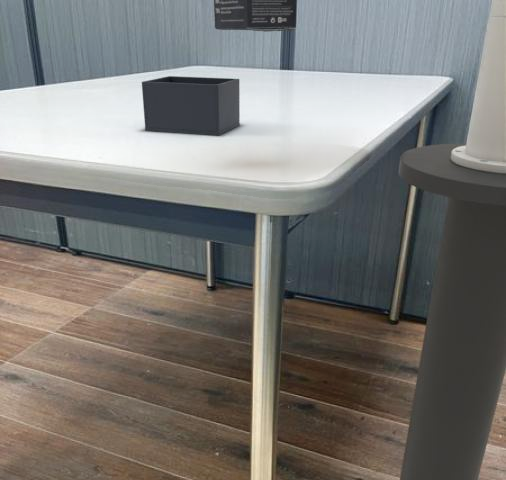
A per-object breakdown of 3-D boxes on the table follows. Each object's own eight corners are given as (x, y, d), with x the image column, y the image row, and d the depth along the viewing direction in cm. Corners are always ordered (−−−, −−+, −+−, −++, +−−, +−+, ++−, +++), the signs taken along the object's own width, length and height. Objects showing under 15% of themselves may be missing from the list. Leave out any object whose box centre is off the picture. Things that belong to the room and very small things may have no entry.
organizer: (239, 125, 90) (239, 78, 87) (219, 135, 82) (218, 85, 79) (171, 121, 92) (168, 76, 89) (145, 130, 85) (141, 81, 82)
